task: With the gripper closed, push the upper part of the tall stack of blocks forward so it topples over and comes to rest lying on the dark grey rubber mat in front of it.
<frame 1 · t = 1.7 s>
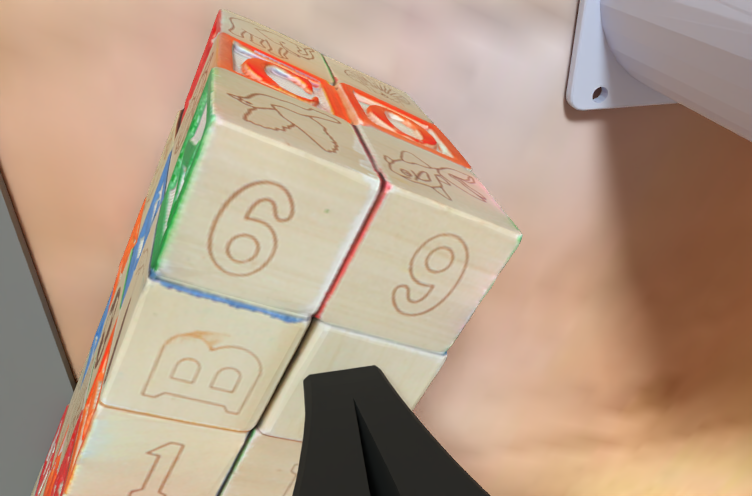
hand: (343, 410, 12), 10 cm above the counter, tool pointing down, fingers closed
stack of blocks: (193, 323, 22), on the counter, touching mat
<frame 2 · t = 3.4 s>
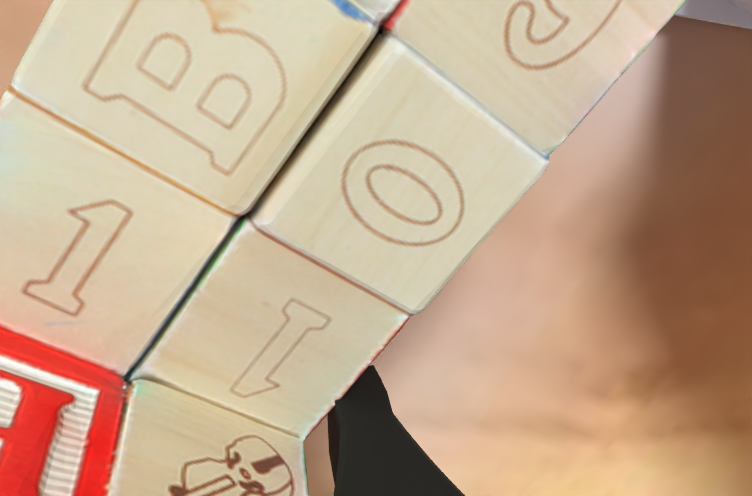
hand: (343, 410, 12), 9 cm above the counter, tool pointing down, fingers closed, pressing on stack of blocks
stack of blocks: (149, 198, 18), on the counter, touching gripper, mat
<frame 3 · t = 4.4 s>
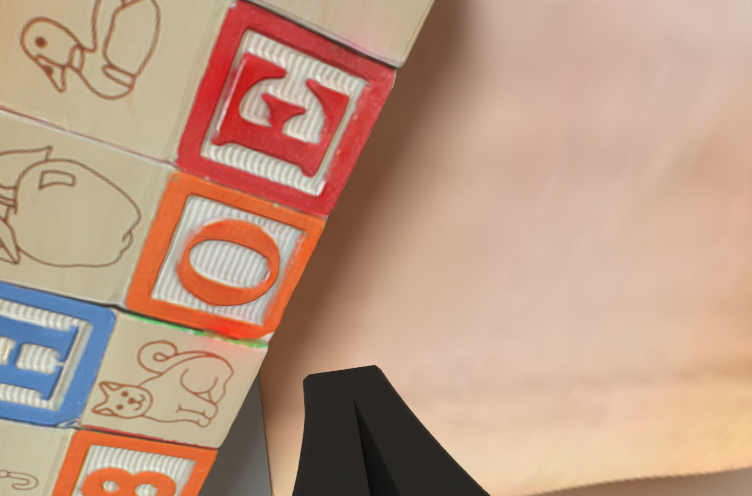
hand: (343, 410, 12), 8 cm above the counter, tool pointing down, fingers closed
mat: (37, 232, 17), on the counter
stack of blocks: (294, 221, 15), point 3 cm above the counter, touching mat
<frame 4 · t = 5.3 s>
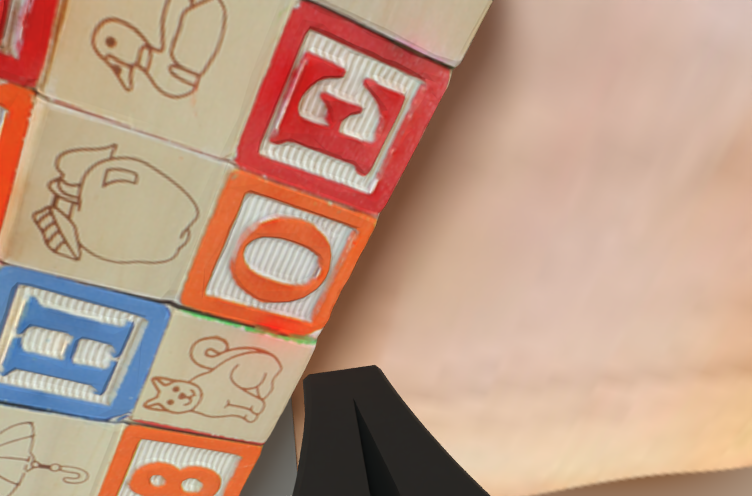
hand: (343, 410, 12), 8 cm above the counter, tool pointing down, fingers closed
mat: (77, 230, 17), on the counter
stack of blocks: (336, 219, 15), point 4 cm above the counter, touching mat
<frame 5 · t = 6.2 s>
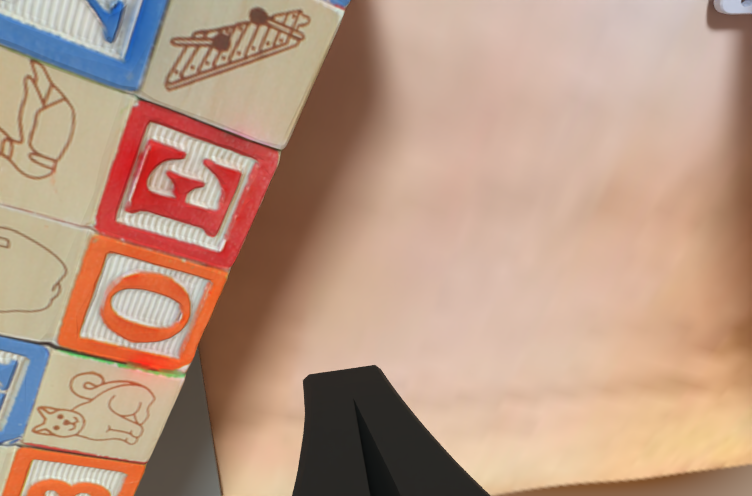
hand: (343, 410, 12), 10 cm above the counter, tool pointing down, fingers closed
stack of blocks: (219, 263, 17), point 4 cm above the counter, touching mat
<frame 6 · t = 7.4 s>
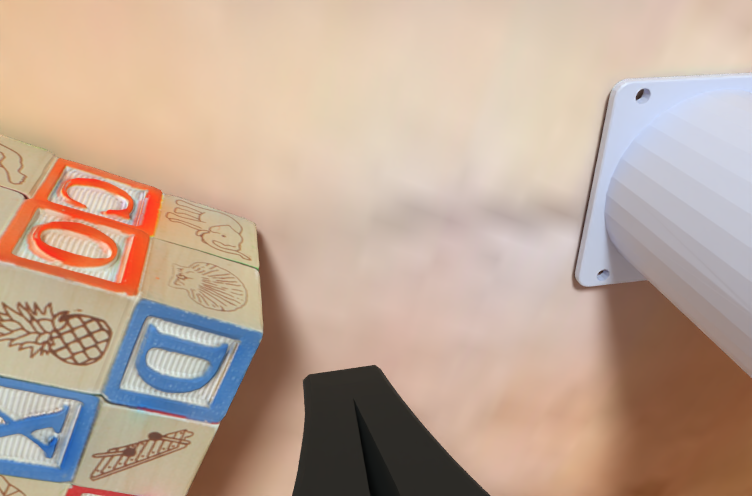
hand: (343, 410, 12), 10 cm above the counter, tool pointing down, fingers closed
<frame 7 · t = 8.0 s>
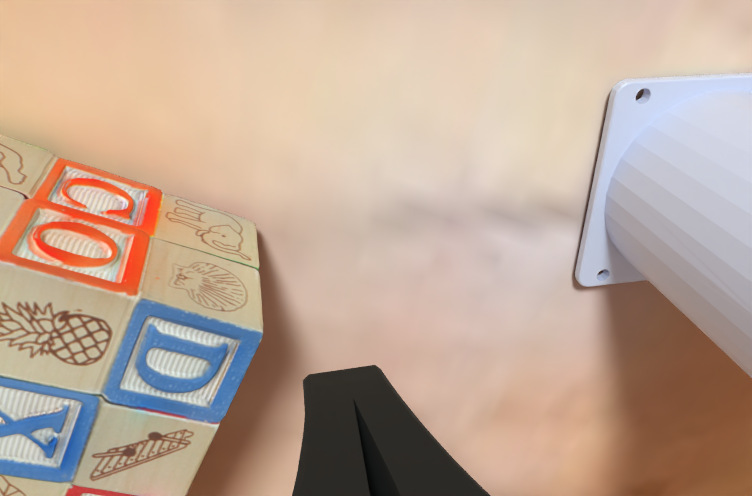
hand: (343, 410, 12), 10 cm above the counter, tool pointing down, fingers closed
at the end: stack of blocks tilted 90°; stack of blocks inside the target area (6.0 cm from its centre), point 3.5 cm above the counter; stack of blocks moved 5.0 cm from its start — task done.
